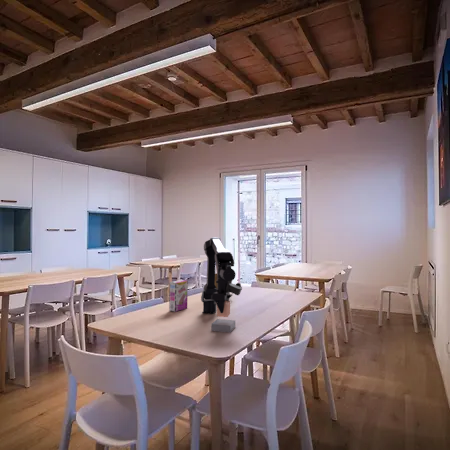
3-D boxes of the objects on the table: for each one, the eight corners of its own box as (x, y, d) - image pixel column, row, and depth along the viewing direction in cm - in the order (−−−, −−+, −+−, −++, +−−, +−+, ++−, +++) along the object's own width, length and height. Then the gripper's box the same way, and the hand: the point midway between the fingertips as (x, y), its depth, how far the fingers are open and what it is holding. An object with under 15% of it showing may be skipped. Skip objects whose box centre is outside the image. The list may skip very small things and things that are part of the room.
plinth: (211, 330, 151) (211, 324, 151) (217, 325, 159) (217, 318, 160) (230, 332, 148) (230, 325, 148) (235, 326, 157) (235, 320, 157)
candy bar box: (175, 312, 184) (175, 282, 185) (168, 311, 187) (168, 282, 187) (188, 308, 194) (188, 280, 194) (181, 307, 196) (181, 279, 197)
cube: (216, 316, 152) (216, 303, 152) (219, 313, 157) (219, 300, 157) (227, 317, 151) (227, 304, 151) (230, 313, 156) (230, 301, 156)
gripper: (235, 282, 143) (235, 318, 143) (244, 275, 161) (244, 308, 161) (210, 280, 146) (210, 316, 146) (222, 275, 164) (222, 306, 164)
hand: (223, 311), depth 154 cm, fingers closed on cube, 5 cm apart
